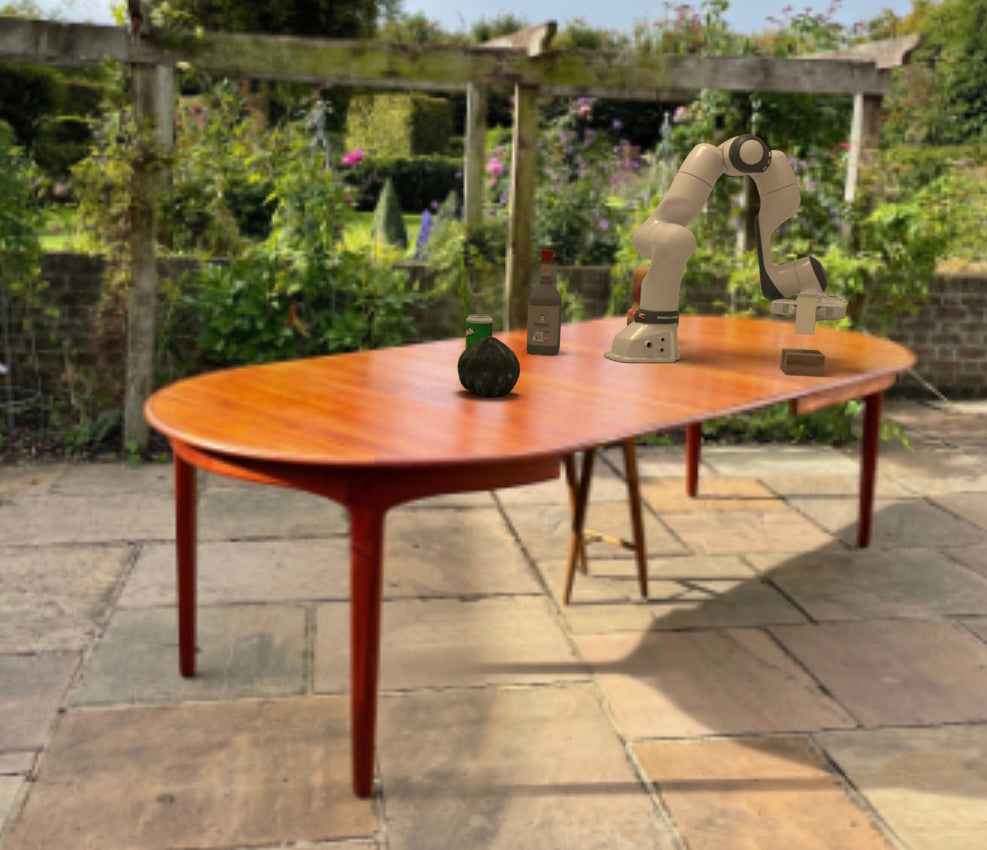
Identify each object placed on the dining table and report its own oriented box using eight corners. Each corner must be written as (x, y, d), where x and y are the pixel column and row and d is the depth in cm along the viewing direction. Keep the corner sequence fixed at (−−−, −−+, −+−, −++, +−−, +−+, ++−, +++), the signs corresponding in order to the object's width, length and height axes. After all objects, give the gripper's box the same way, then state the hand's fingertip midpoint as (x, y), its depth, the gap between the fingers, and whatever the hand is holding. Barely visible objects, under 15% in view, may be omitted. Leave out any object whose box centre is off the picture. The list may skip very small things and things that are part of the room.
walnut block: (822, 377, 299) (824, 355, 297) (785, 375, 300) (787, 354, 298) (816, 371, 308) (818, 350, 307) (780, 369, 309) (782, 348, 308)
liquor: (556, 356, 317) (560, 252, 310) (525, 354, 319) (529, 250, 312) (560, 351, 326) (565, 249, 319) (530, 349, 327) (534, 248, 320)
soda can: (492, 356, 314) (494, 314, 311) (490, 360, 306) (491, 317, 304) (466, 354, 314) (468, 313, 312) (463, 359, 307) (464, 316, 304)
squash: (491, 362, 272) (467, 321, 262) (539, 373, 263) (516, 331, 253) (461, 405, 266) (436, 365, 256) (509, 417, 257) (484, 376, 247)
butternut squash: (619, 342, 346) (623, 263, 340) (634, 337, 357) (639, 260, 352) (660, 347, 340) (666, 266, 334) (674, 342, 351) (680, 263, 345)
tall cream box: (813, 335, 299) (817, 295, 296) (794, 333, 300) (798, 293, 298) (814, 332, 303) (818, 293, 301) (795, 331, 305) (799, 292, 302)
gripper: (773, 293, 315) (768, 297, 302) (848, 297, 308) (845, 303, 296) (772, 314, 316) (766, 320, 304) (845, 320, 310) (843, 326, 297)
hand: (806, 311), depth 300 cm, fingers closed on tall cream box, 5 cm apart
